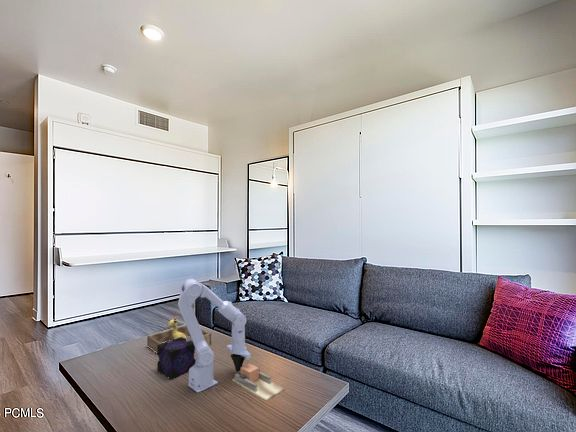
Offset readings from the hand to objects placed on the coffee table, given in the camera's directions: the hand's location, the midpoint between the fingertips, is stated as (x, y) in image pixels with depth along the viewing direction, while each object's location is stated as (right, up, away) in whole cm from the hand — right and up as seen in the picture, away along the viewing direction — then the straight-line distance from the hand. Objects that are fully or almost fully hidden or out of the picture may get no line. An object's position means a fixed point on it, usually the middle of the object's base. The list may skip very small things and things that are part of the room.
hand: (238, 370), depth 132 cm
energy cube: (-29, -3, +5) cm, 30 cm away
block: (+6, -2, -5) cm, 8 cm away
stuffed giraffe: (-38, -3, +32) cm, 49 cm away
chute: (+9, -2, -8) cm, 13 cm away
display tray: (-38, -3, +32) cm, 49 cm away
